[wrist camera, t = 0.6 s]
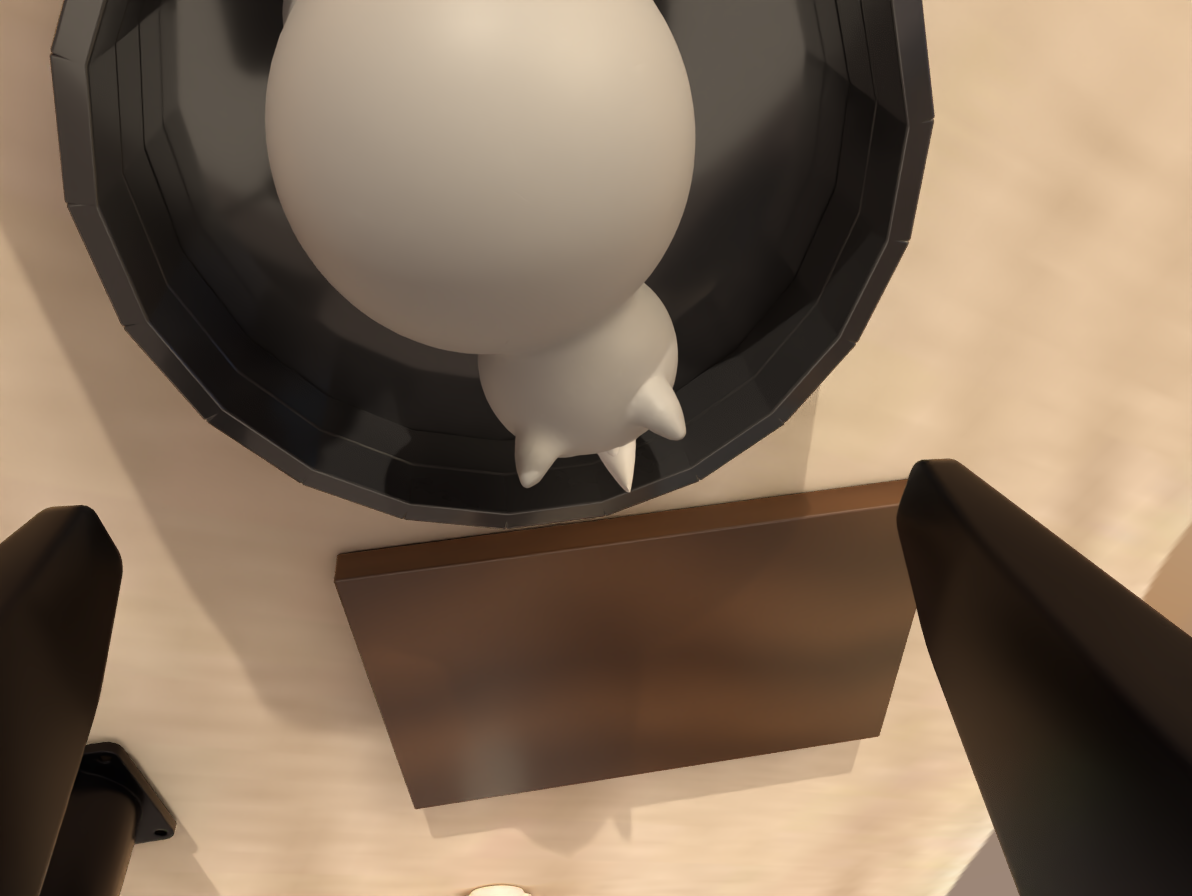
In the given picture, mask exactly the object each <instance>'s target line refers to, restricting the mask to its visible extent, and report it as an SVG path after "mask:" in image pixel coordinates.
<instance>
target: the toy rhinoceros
mask: <svg viewBox="0 0 1192 896" xmlns="http://www.w3.org/2000/svg"><path fill="white" fill-rule="evenodd" d="M282 15H283V26H284V27H283V29H282V32H281V34H280V36H279V39H278V43H277V46H276V49H275V52H274V55H273V59H272V63H271V68H270V73H269V78H268V84H267V91H266V105H265V131H266V144H267V152H268V158H269V164H270V169H271V173H272V177H273V180H274V184H275V188H276V191H277V195H278V197H279V200H280V203H281V205H282V208H283V211H284V213H285V215H286V217H287V219H288V221H289V224H290V226H291V228H292V230H293V232H294V234H295V236H296V237H297V239H298V241H299V243H300V244H301V246H302V247H303V249H304V250H305V252H306V253H307V255H308V256H309V258H310V259H311V261H312V262H313V263H314V265H315V266H316V268H317V269H318V270H319V271H320V272H321V274H322V275H323V276H324V277H325V278H326V279H327V281H328V282H329V283H330V284H331V285H332V286H333V287H334V288H335V289H336V290H337V291H338V292H339V293H340V294H341V295H342V296H343V297H345V298H346V299H347V300H348V301H349V302H350V303H351V304H352V305H354V306H355V307H356V308H357V309H359V310H360V311H361V312H363V313H364V314H366V315H367V316H368V317H370V318H371V319H373V320H374V321H376V322H378V323H379V324H381V325H383V326H384V327H386V328H388V329H390V330H392V331H394V332H396V333H397V334H399V335H402V336H404V337H407V338H409V339H411V340H414V341H416V342H419V343H422V344H425V345H428V346H431V347H435V348H438V349H442V350H447V351H453V352H459V353H467V354H478V370H479V376H480V381H481V385H482V388H483V391H484V394H485V396H486V399H487V401H488V403H489V405H490V407H491V408H492V410H493V412H494V413H495V415H496V416H497V418H498V419H499V420H500V421H501V423H502V424H503V425H504V426H505V427H506V428H507V430H509V431H510V432H511V433H512V434H513V435H514V436H516V438H515V463H516V469H517V473H518V476H519V479H520V482H521V484H522V486H523V487H525V488H530V487H532V486H534V485H535V484H537V483H538V482H540V480H541V479H542V478H543V476H544V475H545V473H546V472H547V471H548V469H549V468H550V467H551V465H552V464H553V463H554V461H555V460H556V459H557V458H558V457H559V458H565V457H573V456H577V455H587V454H596V453H598V455H599V457H600V459H601V460H602V462H603V463H604V465H605V466H606V468H607V469H608V471H609V472H610V473H611V475H612V476H613V477H614V479H615V480H616V481H617V482H618V484H619V485H620V486H621V487H622V488H623V489H624V490H625V491H626V492H630V490H631V485H632V479H633V472H634V464H635V450H636V439H637V438H638V437H639V436H640V435H642V434H643V433H645V432H646V431H647V430H648V429H649V430H650V431H652V432H654V433H656V434H658V435H660V436H663V437H665V438H667V439H670V440H680V439H683V438H684V436H685V435H686V426H685V420H684V416H683V412H682V409H681V406H680V403H679V401H678V399H677V397H676V395H675V393H674V391H673V389H672V388H673V386H674V382H675V377H676V372H677V364H678V347H677V339H676V334H675V330H674V327H673V324H672V321H671V318H670V316H669V314H668V312H667V310H666V308H665V306H664V305H663V303H662V302H661V300H660V299H659V297H658V296H657V295H656V294H655V293H654V292H653V291H652V289H650V288H649V287H648V286H647V285H646V284H645V283H644V282H645V281H646V280H647V278H648V277H649V276H650V275H651V273H652V272H653V271H654V269H655V268H656V266H657V265H658V263H659V262H660V260H661V259H662V257H663V255H664V254H665V252H666V250H667V248H668V247H669V245H670V243H671V241H672V239H673V237H674V235H675V232H676V230H677V228H678V226H679V223H680V220H681V218H682V215H683V212H684V209H685V206H686V203H687V199H688V195H689V190H690V186H691V181H692V175H693V169H694V157H695V117H694V107H693V101H692V95H691V90H690V85H689V81H688V77H687V73H686V69H685V66H684V63H683V60H682V57H681V54H680V52H679V49H678V47H677V44H676V42H675V40H674V37H673V35H672V33H671V31H670V29H669V27H668V25H667V23H666V21H665V19H664V18H663V16H662V14H661V13H660V11H659V10H658V8H657V6H656V5H655V3H654V1H653V0H283V11H282Z"/></svg>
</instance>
